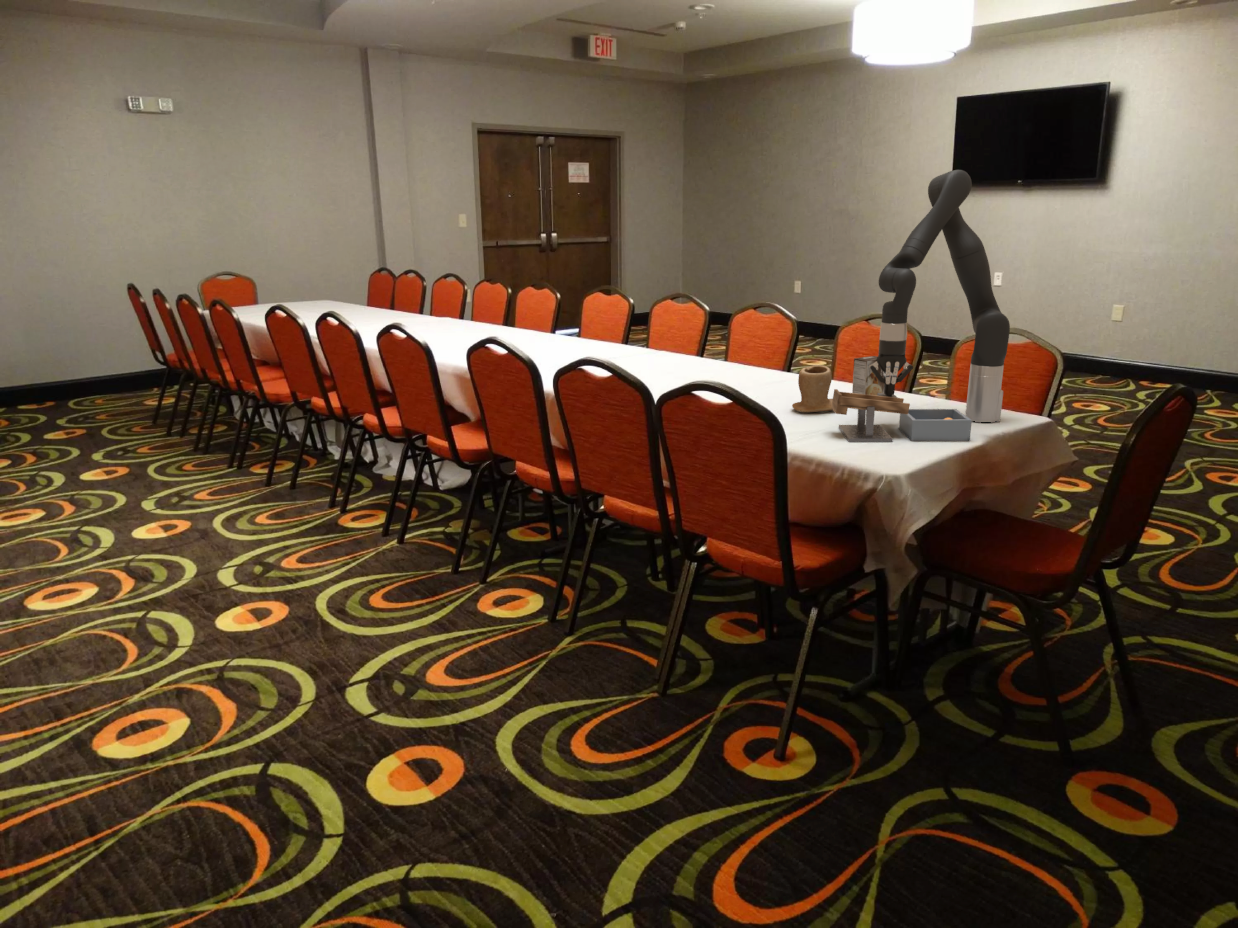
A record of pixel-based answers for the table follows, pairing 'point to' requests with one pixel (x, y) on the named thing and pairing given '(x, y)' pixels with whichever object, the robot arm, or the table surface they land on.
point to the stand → (865, 428)
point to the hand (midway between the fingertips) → (888, 396)
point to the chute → (868, 402)
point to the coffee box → (866, 377)
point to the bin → (935, 425)
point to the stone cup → (814, 389)
